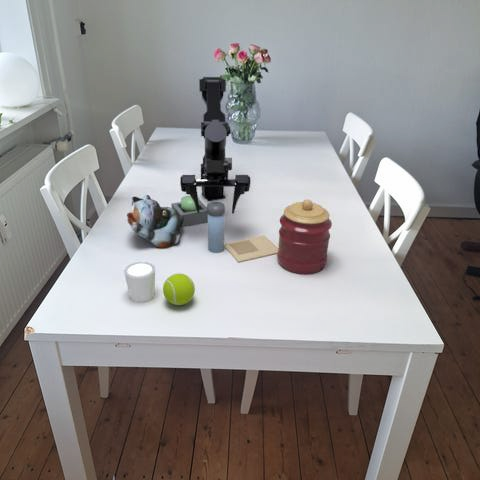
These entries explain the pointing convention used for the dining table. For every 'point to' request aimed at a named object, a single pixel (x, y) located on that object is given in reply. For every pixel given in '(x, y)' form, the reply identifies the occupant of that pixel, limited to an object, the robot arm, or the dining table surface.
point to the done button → (188, 204)
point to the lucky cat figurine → (155, 222)
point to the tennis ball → (178, 289)
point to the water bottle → (215, 226)
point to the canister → (304, 237)
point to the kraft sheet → (251, 248)
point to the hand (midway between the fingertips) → (215, 212)
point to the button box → (192, 215)
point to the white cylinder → (140, 281)
